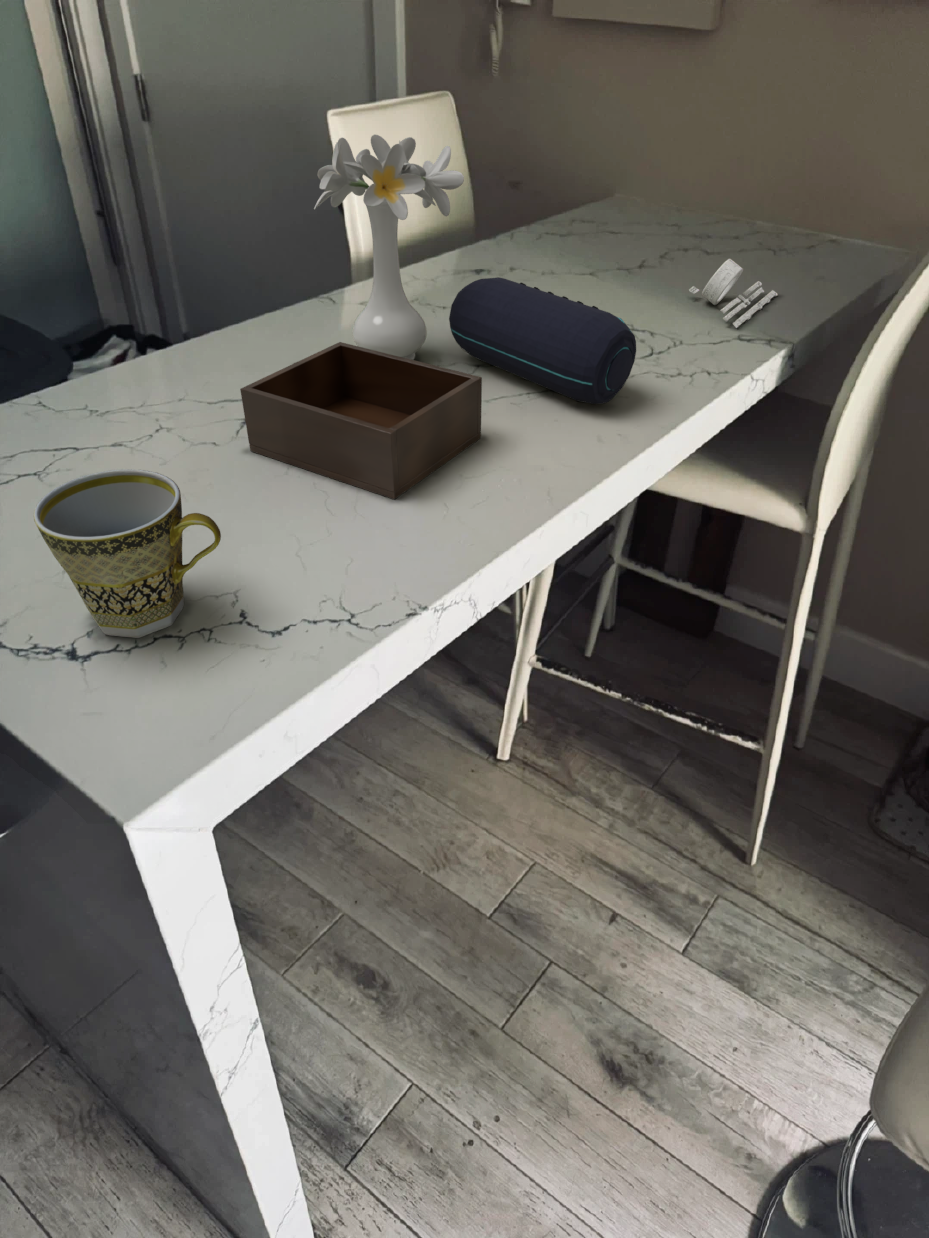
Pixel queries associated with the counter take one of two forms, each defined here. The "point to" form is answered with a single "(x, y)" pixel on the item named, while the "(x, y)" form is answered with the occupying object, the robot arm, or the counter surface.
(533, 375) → the portable speaker
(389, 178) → the flower vase
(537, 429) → the counter surface
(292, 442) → the crate
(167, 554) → the ceramic cup
